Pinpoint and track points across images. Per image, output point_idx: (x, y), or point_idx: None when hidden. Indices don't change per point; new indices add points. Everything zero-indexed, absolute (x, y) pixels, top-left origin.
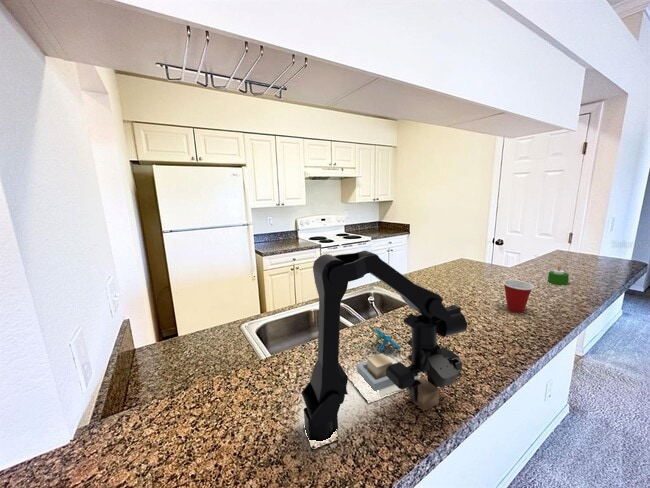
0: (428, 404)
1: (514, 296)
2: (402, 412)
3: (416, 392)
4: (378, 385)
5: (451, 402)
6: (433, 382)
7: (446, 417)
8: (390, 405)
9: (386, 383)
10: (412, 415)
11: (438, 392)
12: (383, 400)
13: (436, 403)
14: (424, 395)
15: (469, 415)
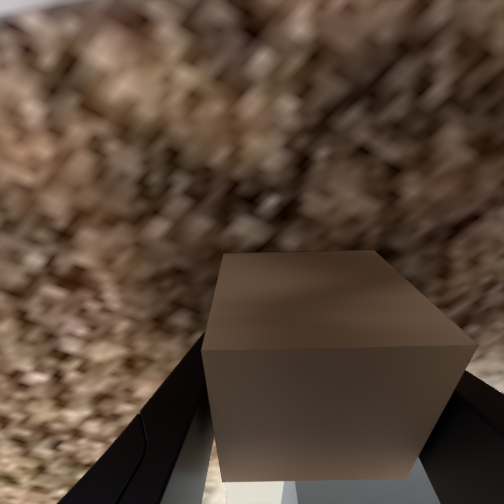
0: (335, 268)
1: None
2: (485, 295)
3: (495, 409)
4: None
5: (121, 225)
6: (194, 443)
7: (274, 120)
8: (482, 354)
9: (419, 470)
10: (463, 252)
11: (215, 320)
12: None
13: (244, 258)
14: (454, 348)
15: (52, 26)
